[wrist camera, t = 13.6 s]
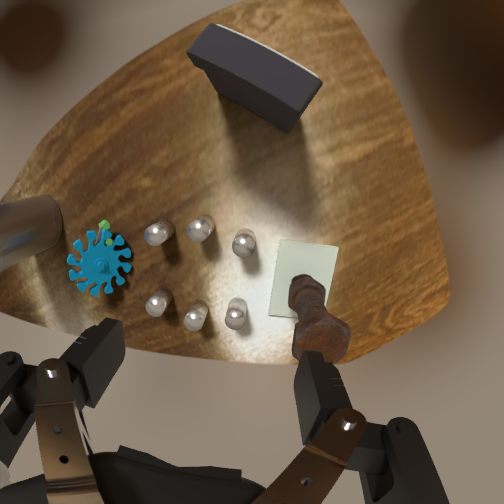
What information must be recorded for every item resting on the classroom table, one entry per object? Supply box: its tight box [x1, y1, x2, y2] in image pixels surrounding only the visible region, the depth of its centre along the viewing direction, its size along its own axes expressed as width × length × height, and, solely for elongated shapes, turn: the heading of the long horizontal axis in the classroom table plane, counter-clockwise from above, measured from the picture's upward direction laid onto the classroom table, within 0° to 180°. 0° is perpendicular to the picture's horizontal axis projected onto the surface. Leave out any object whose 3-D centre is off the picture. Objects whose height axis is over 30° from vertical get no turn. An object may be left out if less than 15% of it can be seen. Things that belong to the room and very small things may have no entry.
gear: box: [67, 220, 132, 296], centre depth 36 cm, size 11×6×10 cm
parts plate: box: [268, 239, 339, 318], centre depth 38 cm, size 8×11×1 cm
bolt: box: [288, 274, 351, 364], centre depth 31 cm, size 6×5×15 cm
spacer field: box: [145, 215, 255, 331], centre depth 36 cm, size 14×15×4 cm
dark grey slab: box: [186, 23, 323, 134], centre depth 25 cm, size 11×4×15 cm, turn 57°
